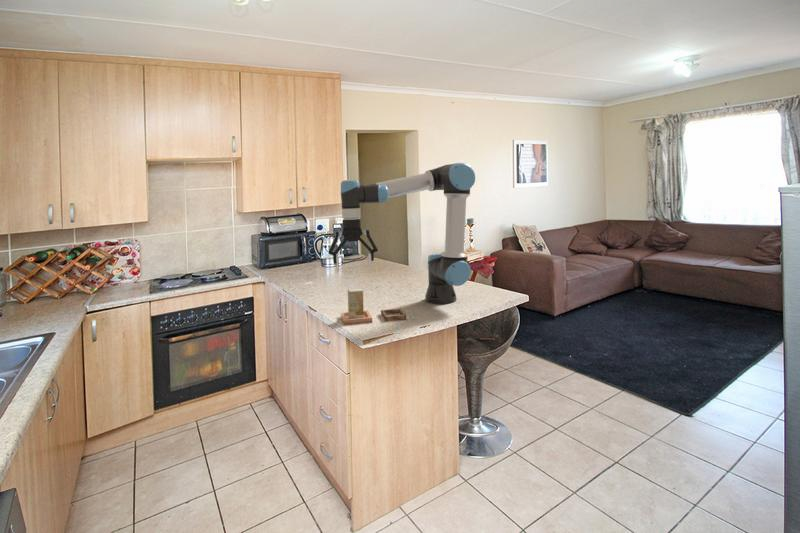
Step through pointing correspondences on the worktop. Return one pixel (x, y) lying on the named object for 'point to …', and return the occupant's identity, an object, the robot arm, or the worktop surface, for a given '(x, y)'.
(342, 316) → the tray
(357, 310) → the skincare box
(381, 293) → the worktop surface
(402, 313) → the pocket frame
